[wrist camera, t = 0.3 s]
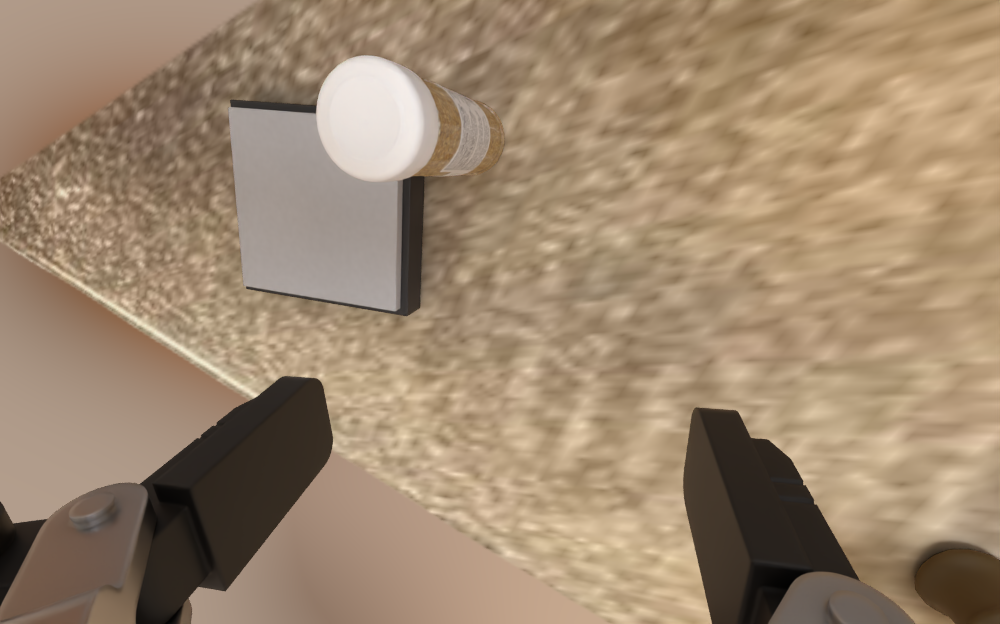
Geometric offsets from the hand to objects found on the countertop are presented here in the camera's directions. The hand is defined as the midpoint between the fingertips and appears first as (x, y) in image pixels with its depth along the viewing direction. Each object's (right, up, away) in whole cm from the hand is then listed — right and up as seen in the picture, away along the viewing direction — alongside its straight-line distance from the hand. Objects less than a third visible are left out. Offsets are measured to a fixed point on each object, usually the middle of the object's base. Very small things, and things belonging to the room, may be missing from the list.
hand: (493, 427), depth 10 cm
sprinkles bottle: (-2, +14, +20) cm, 24 cm away
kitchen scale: (-11, +10, +24) cm, 28 cm away
